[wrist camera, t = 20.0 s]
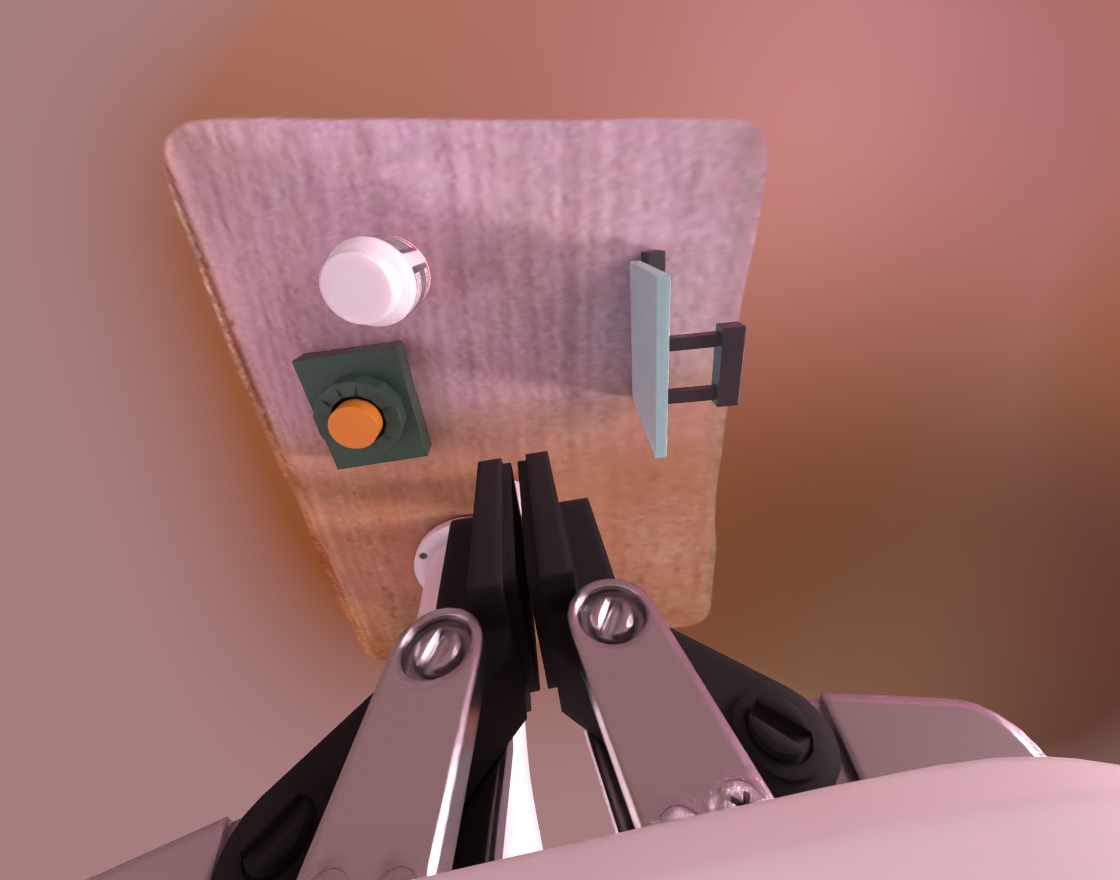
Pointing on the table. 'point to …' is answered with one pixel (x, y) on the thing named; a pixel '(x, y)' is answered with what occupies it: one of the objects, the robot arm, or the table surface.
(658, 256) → the bar
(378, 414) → the button
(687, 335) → the pale blue flat panel
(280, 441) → the table surface
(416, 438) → the button box
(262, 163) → the table surface
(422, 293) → the pill bottle
